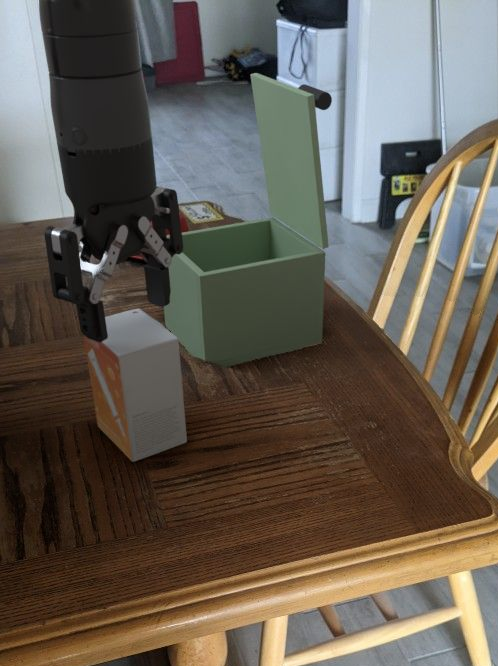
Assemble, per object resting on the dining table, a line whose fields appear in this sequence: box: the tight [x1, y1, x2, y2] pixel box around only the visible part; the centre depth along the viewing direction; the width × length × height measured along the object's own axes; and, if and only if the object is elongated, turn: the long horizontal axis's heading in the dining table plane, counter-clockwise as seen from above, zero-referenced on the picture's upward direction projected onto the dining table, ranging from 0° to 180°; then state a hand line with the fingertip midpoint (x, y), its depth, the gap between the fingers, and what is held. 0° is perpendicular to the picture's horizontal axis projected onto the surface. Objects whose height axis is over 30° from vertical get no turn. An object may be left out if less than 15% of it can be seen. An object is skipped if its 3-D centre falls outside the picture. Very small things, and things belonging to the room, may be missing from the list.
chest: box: [163, 216, 326, 368], centre depth 96 cm, size 16×14×12 cm
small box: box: [82, 308, 188, 463], centre depth 76 cm, size 8×6×13 cm
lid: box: [250, 72, 333, 250], centre depth 91 cm, size 17×14×5 cm
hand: (129, 321), depth 72 cm, fingers open, 8 cm apart
